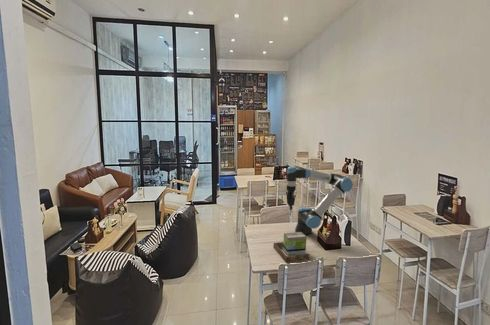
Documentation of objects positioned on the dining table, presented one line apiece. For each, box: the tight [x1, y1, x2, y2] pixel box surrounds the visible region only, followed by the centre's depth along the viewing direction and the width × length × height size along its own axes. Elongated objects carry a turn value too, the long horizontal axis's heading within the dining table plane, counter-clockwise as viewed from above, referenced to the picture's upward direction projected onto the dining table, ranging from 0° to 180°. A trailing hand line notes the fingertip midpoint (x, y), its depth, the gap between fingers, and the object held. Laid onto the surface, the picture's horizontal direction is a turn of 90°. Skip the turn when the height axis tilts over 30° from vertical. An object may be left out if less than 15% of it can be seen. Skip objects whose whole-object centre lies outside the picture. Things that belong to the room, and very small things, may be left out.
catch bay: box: [273, 241, 310, 263], centre depth 221 cm, size 19×24×4 cm
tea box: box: [282, 231, 308, 256], centre depth 221 cm, size 15×10×15 cm
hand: (290, 212), depth 242 cm, fingers closed
